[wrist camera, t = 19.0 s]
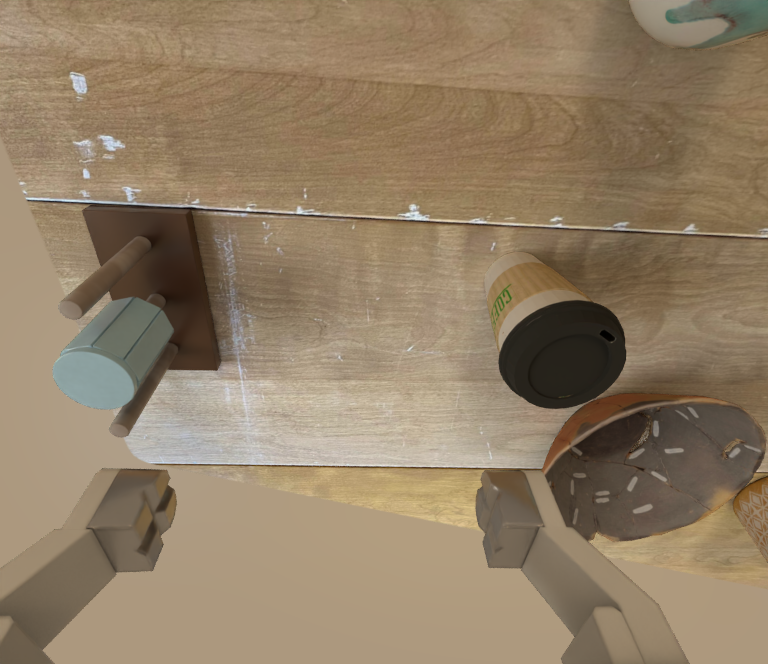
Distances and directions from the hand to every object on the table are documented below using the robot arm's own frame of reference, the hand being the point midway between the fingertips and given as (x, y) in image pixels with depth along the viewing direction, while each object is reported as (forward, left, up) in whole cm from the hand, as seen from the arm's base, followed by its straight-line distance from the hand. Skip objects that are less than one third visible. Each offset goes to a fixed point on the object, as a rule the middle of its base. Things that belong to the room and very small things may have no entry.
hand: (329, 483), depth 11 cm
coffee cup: (+14, +14, -33) cm, 39 cm away
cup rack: (+8, -22, -33) cm, 41 cm away
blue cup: (+8, -22, -27) cm, 36 cm away
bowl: (+38, +26, -33) cm, 57 cm away
